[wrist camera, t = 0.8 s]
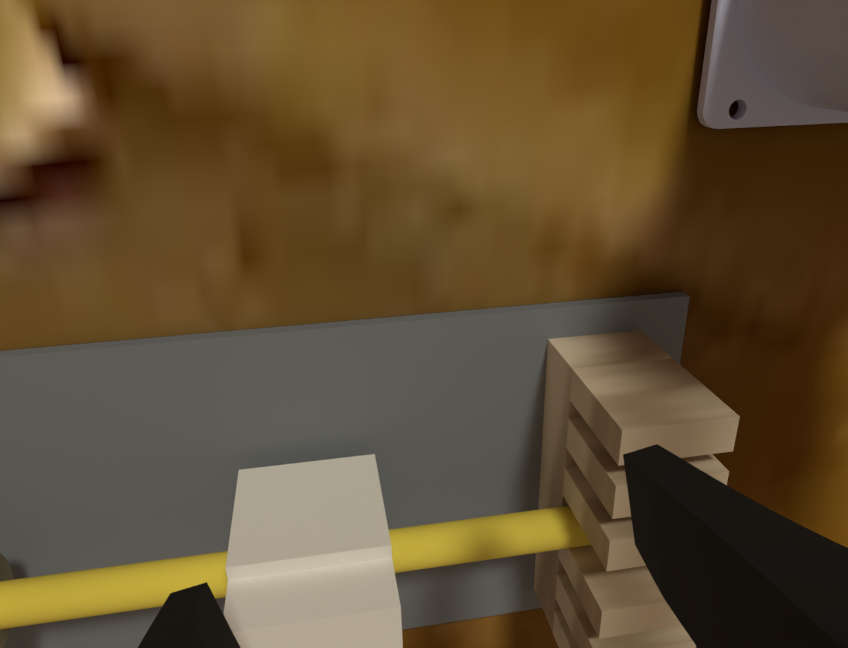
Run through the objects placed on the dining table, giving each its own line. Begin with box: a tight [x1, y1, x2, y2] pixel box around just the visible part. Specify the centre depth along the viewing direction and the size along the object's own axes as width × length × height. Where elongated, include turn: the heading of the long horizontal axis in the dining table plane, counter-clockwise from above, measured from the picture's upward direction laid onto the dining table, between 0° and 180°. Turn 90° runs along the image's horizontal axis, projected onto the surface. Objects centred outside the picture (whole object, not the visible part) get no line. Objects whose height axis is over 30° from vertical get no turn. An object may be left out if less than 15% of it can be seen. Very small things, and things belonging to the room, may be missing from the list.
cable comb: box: [534, 330, 740, 648], centre depth 20 cm, size 3×10×5 cm, turn 1°
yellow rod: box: [0, 506, 591, 629], centre depth 19 cm, size 22×1×1 cm, turn 92°
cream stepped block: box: [223, 454, 403, 648], centre depth 18 cm, size 4×4×6 cm
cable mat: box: [0, 292, 690, 648], centre depth 21 cm, size 27×12×1 cm, turn 92°
